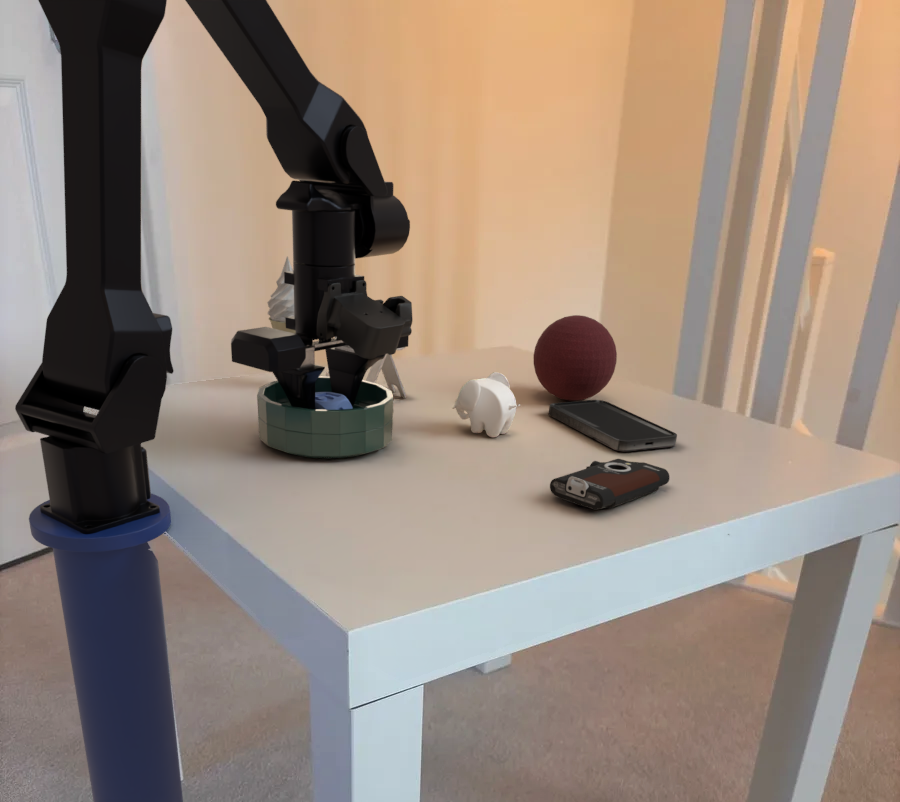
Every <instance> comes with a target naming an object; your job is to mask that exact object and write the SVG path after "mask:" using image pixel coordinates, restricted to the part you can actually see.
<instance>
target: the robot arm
mask: <svg viewBox="0 0 900 802" xmlns="http://www.w3.org/2000/svg"><path fill="white" fill-rule="evenodd" d="M37 1H38V4H39V5H40V6H41V9H42V11H43V14H44V16H45V18H46V20H47V21H48V24H49V26H50V28H51V30H52V32H53V34H54V36H55V38H56V40H57V43H58V46H59V51H60V69H61V105H62V137H63V138H62V141H63V142H62V143H63V144H62V145H63V148H62V149H63V185H64V186H63V187H64V221H65V223H64V224H65V262H66V263H65V264H66V277H65V278H66V279H65V282H64V285H63V287H62V289H61V290H60V293H59V294H58V296H57V298H56V301H55V302H54V304H53V306H52V308H51V310H50V311H49V313H48V316H47V318H46V321H45V322H46V323H45V332H44V339H43V341H44V342H43V349H42V350H43V351H42V359H41V363H40V365H39V367H38V368H37V369H36V371H35V373H34V375H33V376H32V377H31V380H30V381H29V383H28V384H27V386H26V388H25V389H24V391H23V393H22V394H21V396H20V397H19V399H18V401H17V402H16V404H15V406H14V407H15V409H14V410H15V412H16V415H17V416H18V418H19V419H20V422H21V423H22V425H23V427H24V429H25V430H26V431H28V432H30V433H38V434H40V435H44V436H45V437H41V438H39V442H40V449H41V454H42V461H43V467H44V474H45V480H46V485H47V491H48V497H49V499H48V500H50V503H48V504H44V505H41V506H40V511H41V513H43V514H45V515H47V516H49V517H51V518H53V519H55V520H57V521H59V522H61V523H63V524H65V525H67V526H69V527H71V528H73V529H75V530H77V531H79V532H81V533H83V534H93V533H96V532H100V531H103V530H106V529H109V528H112V527H116V526H119V525H122V524H125V523H129V522H132V521H135V520H138V519H142V518H145V517H148V516H151V515H155V514H158V513H159V512H160V507H159V506H158V505H156V504H154V503H152V502H149V501H147V500H148V499H150V497H151V493H152V491H151V481H150V472H149V463H148V454H147V452H148V451H147V449H146V448H145V447H144V446H142V444H144V443H147V442H149V441H150V442H151V441H153V440H155V438H156V435H157V429H158V423H159V416H160V411H161V405H162V399H163V398H164V394H165V392H166V389H167V381H168V380H167V379H168V374H172V375H173V373H174V371H175V370H174V367H173V364H172V359H171V342H172V337H173V336H172V335H173V325H172V320H171V317H170V316H169V315H165V314H160V313H155V312H154V311H152V309H151V306H150V304H149V302H148V300H147V298H146V296H145V293H144V291H143V287H142V68H143V61H144V58H145V56H146V54H147V52H148V50H149V49H150V46H151V44H152V42H153V40H154V38H155V36H156V35H157V32H158V30H159V29H160V26H161V25H162V22H163V21H164V19H165V17H166V10H167V4H168V3H167V2H168V0H37ZM185 2H186V4H187V5H188V6H189V8H190V9H191V11H192V12H193V13H194V15H195V16H196V18H197V19H198V21H199V22H200V23H201V25H202V26H203V28H204V29H205V30H206V32H207V33H208V35H209V36H210V38H211V39H212V40H213V42H214V43H215V44H216V46H217V47H218V48H219V51H221V53H222V54H223V56H224V57H225V59H226V60H227V61H228V63H229V64H230V66H231V67H232V68H233V70H234V71H235V73H236V74H237V76H238V77H239V78H240V80H241V81H242V83H243V84H244V86H245V87H246V88H247V90H248V91H249V92H250V94H251V95H252V97H253V98H254V100H255V101H256V102H257V104H258V105H259V107H260V109H261V110H262V112H263V114H264V116H265V125H266V127H265V129H266V131H265V132H266V133H265V135H266V139H267V142H269V145H270V147H271V149H272V151H273V153H274V155H275V157H276V158H277V161H278V162H279V164H280V165H281V168H282V169H283V172H284V173H285V174H287V175H288V176H289V177H290V178H291V179H293V180H292V181H291V182H290V184H289V186H288V187H287V189H286V190H285V191H284V192H283V193H282V194H280V195H279V197H278V198H277V199H276V201H275V207H276V208H277V209H278V210H284V211H291V224H292V230H291V231H292V263H293V264H292V269H293V271H289V272H284V283H286V284H291V285H294V316H291V317H285V320H286V328H287V329H292V330H295V333H290V332H286V331H282V330H278V329H274V328H272V327H270V326H260V327H253V328H248V329H240V330H237V331H236V332H235V334H234V335H233V337H232V338H231V341H230V355H231V362H232V363H235V364H239V365H242V366H246V367H249V368H253V369H257V370H261V371H265V372H269V373H272V374H273V375H274V377H275V379H276V381H278V382H279V384H280V385H281V387H282V389H283V390H284V392H285V394H286V396H287V398H288V400H289V402H290V404H291V406H292V407H299V408H306V409H315V384H316V380H317V378H318V377H319V376H321V375H322V373H323V372H324V371H325V369H326V368H325V366H323V365H319V364H316V363H315V362H316V361H315V360H316V359H315V357H316V355H315V354H316V353H315V352H319V351H324V350H325V356H326V361H327V368H328V369H327V370H328V372H329V376H330V383H331V389H332V392H335V393H339V394H342V395H344V396H345V397H346V398H347V399H348V400H349V402H350V403H351V405H352V408H353V405H354V402H355V399H356V396H357V393H358V390H359V388H360V385H361V382H362V380H364V378H365V375H366V373H367V372H368V370H370V369H371V366H372V365H373V364H375V363H376V362H377V361H378V360H381V359H383V358H384V357H385V355H386V354H389V355H392V356H393V355H395V354H396V352H397V350H396V349H398V348H403V347H405V348H406V347H409V337H410V336H411V335H412V325H413V304H412V301H411V300H409V299H407V298H406V297H405V296H403V295H397V296H389V297H388V298H387V299H386V300H385V301H384V300H383V299H381V298H380V299H373V298H371V297H369V296H368V292H367V287H368V286H367V285H368V284H367V281H366V280H365V276H364V275H360V274H356V259H363V258H370V257H379V256H386V255H393V254H395V253H397V252H399V251H400V250H401V249H403V248H404V247H405V244H406V243H407V242H408V239H409V236H410V229H411V220H410V219H409V216H408V212H407V210H406V207H405V205H404V204H403V203H402V201H401V200H400V199H398V197H396V195H394V182H393V181H387V180H386V181H385V179H384V176H383V173H382V170H381V168H380V165H379V162H378V160H377V157H376V155H375V152H374V149H373V146H372V144H371V141H370V139H369V135H368V131H367V129H366V126H365V123H364V122H363V120H362V118H361V117H360V116H359V114H358V113H357V112H356V111H355V110H354V109H353V107H352V106H351V105H350V103H348V101H347V100H346V99H345V98H344V97H343V96H342V95H341V94H339V93H338V92H336V91H335V90H333V89H331V88H330V87H328V86H327V85H326V84H324V83H322V82H321V81H320V80H318V78H317V77H316V76H315V75H314V74H313V73H312V72H311V70H310V68H309V67H308V65H307V64H306V62H305V61H304V58H303V57H302V56H301V54H300V53H299V51H298V49H297V47H296V45H295V44H294V43H293V41H292V39H291V37H290V36H289V35H288V33H287V32H286V30H285V28H284V26H283V24H282V23H281V22H280V20H279V18H278V17H277V14H276V13H275V12H274V11H273V10H274V9H272V7H271V5H270V4H269V2H268V0H185ZM315 340H316V341H315ZM85 408H89V409H93V410H96V411H97V414H95V413H89V412H85V411H84V410H85Z"/></svg>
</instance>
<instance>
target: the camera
mask: <svg viewBox="0 0 900 802" xmlns="http://www.w3.org/2000/svg"><path fill="white" fill-rule="evenodd" d="M670 478H671V477H670V473H669V471H668V470H667V469H665V468H664V467H660V466H656V465H653V464H650V463H647V462H639V461H629V460H625V459H621V458H615V459H612V460H608V461H603V462H602V461H601V462H600V461H598V460H593V461H592V462H591V463H590V464H589V466H586V467H585V468H584V469H581V470H577V471H574V472H571V473H567V474H565V475H561V476H558V477H555V478H552V479H551V480H550V483H549V490H550V492H551V494H553V496H555V497H557V498H559V499H562V500H564V501H566V502H569V503H572V504H576V505H578V506H581V507H585V508H589V509H592V510H593V511H594V510H595V511H597V510H602V509H604V508H606V509H612V508H615V507H618V506H620V505H623V504H625V503H628V502H631V501H633V500H636V499H639V498H641V497H644V496H646V495H649V494H651V493H655V492H657V491H658V490H659V489H660V487H663V486H665V485H667V484H668V483H669V482H670Z"/></svg>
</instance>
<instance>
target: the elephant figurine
mask: <svg viewBox="0 0 900 802" xmlns="http://www.w3.org/2000/svg"><path fill="white" fill-rule="evenodd" d="M517 407H521V404H520V403H519V404H518V405H517V400H516V397H515V394H514V392H513V391H512V390H511V385H510V382H509V380H508V378H507V377H506V375H504V374H503V373H501V372H498V371H494V372H492V373H490V374H488V376H487V377H486V378H485V377H484V378H483V377H482V378H481V377H480V378H477V379H473V378H472V379H468V381H466V382H465V383H464V385H462V386H461V388H460V390H459V392H458V395H457V398H456V399H455V402H454V405H453V407H451V409H452V410H454V409H455V410H456V413H457V415H458V416H459V417H460V419H462V420H467V419H469V422H470V430H471V432H472V433H473V434H481V433H482V432H483V431H485V434H486V435H487V436H488V437H490V438H497V437H499V435H500V434H501V435H504V434H507V433H508V432H509V430H510V429H511V426H512V425H513V421H514V419H515V415H516V412H517Z"/></svg>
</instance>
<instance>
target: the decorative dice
mask: <svg viewBox="0 0 900 802" xmlns="http://www.w3.org/2000/svg"><path fill="white" fill-rule="evenodd" d="M315 409H323V410H342V409H353V408H352V405H351V403H350V402H349V400H348V399H347V398H346V397H345V396H344V395H342V394H339V393H335V392H315Z"/></svg>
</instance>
